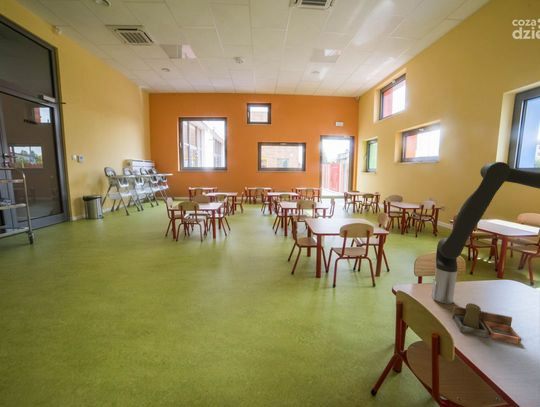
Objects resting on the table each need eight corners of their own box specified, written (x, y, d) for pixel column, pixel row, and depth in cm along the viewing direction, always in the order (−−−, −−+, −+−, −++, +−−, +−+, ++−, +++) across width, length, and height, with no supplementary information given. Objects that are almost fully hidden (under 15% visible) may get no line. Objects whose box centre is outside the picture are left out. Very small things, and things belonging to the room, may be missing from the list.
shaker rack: (459, 331, 112) (460, 318, 112) (452, 317, 123) (454, 306, 122) (521, 345, 105) (524, 331, 104) (508, 329, 115) (511, 316, 114)
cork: (458, 324, 118) (461, 301, 116) (470, 324, 118) (474, 301, 116) (469, 333, 112) (473, 309, 110) (482, 332, 112) (486, 308, 111)
